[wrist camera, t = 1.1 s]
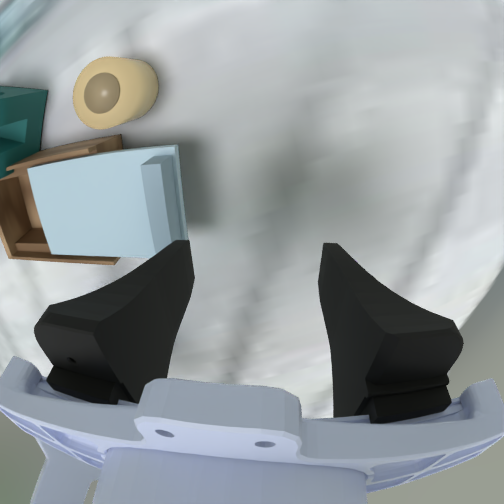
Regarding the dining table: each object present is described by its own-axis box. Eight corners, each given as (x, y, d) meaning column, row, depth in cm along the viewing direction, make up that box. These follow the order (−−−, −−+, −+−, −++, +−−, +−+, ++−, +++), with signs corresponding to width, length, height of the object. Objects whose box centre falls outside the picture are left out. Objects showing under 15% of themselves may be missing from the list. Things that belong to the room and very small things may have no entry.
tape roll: (160, 116, 19) (137, 123, 15) (104, 124, 19) (75, 135, 16) (157, 53, 16) (133, 48, 13) (100, 67, 17) (69, 67, 13)
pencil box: (137, 234, 24) (114, 265, 20) (34, 235, 25) (8, 258, 21) (121, 134, 20) (88, 148, 16) (13, 158, 20) (-18, 175, 16)
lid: (190, 253, 20) (180, 276, 18) (55, 249, 21) (39, 267, 19) (178, 144, 16) (162, 154, 14) (32, 165, 17) (10, 177, 15)
